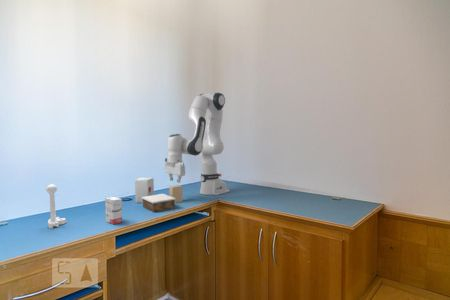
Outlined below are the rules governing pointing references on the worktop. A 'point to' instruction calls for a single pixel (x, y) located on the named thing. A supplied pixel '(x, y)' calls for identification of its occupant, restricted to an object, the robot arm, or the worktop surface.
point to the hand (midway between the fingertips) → (175, 181)
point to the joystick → (53, 209)
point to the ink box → (113, 210)
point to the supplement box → (143, 188)
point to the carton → (176, 193)
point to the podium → (158, 202)
